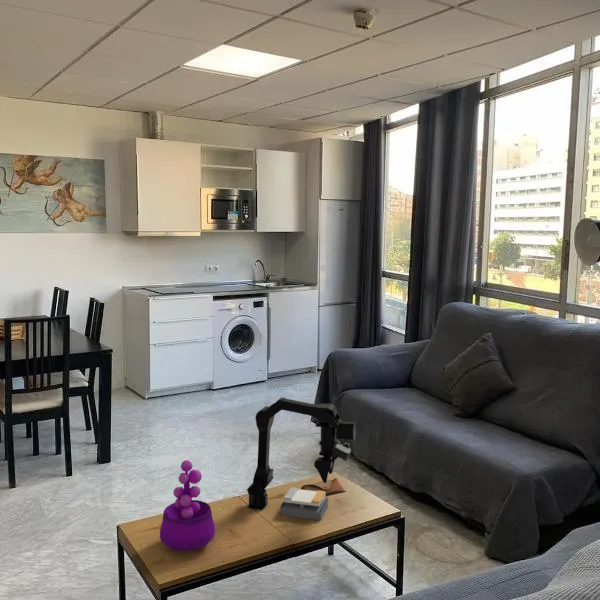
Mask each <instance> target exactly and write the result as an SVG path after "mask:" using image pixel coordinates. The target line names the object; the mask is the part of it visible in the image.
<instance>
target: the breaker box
mask: <svg viewBox="0 0 600 600" xmlns="http://www.w3.org/2000/svg"><path fill="white" fill-rule="evenodd" d="M328 508H329V498H328V497H326V498H323V500H322V502H321V504H320V506H311V505H304V504H296V503H288V502H283V501H282V503H281V505H280V509H279V510H280V516H286V517H287V516H288V517H293V518H294V517H295V518H302V519H309V520H316V521H322V519H323V517H324V515H325V514H326V513H327V512H326V511H327V510H328Z"/></svg>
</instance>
